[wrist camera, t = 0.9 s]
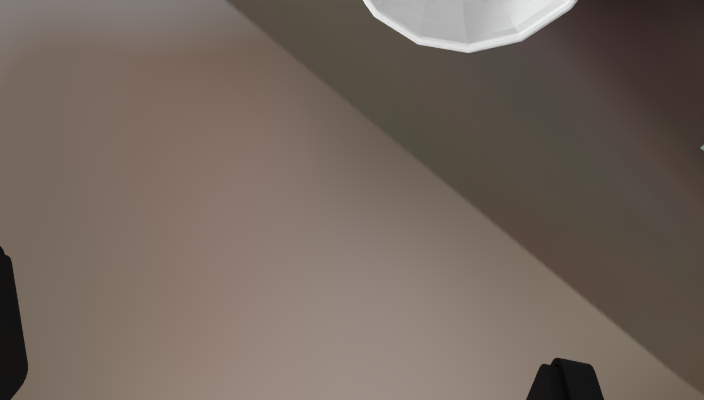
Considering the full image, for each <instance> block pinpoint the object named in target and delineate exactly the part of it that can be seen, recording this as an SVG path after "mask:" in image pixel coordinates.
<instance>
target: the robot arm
mask: <svg viewBox="0 0 704 400" xmlns="http://www.w3.org/2000/svg"><path fill="white" fill-rule="evenodd" d="M27 372H28V362H27V356H26V350H25V343H24V337H23V330H22V324H21V318H20V312H19V305H18V299H17V293H16V286H15V280H14V273H13V267H12V262H11V258H10V257H9V256H7V255H5V254H4V251H3V249H2V248H1V246H0V400H11V398H12V397H13V396H14V395H15V394H16V392H17V391H18V390H19V388H20V387H21V386H22V384H23V383H24V380H25V378H26V375H27ZM526 400H604V398H603V395H602V392H601V389H600V386H599V383H598V380H597V377H596V373H595V371H594V369H593V367H592V366H591V365H590V364H586V363H581V362H576V361H571V360H566V359H561V358H555V359H554V360H553V361H552V363H551V365H547V364H542V365H541V366H540V368H539V370H538V373H537V375H536V377H535V380H534V382H533V384H532V387H531V389H530V392H529V394H528V397H527V399H526Z"/></svg>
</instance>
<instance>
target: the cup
mask: <svg viewBox="0 0 704 400" xmlns="http://www.w3.org/2000/svg"><path fill="white" fill-rule="evenodd" d="M363 1H364V3H365V4H366V6H367V7H368V8H369V10H370V11H371V13H372V14H373V16H374V17H376V18H377V19H379V20H381V21H382V22H384V23H385V24H387V25H388V26H390V27H392V28H393V29H395V30H396V31H398V32H399V33H401V34H403V35H404V36H406V37H407V38H409V39H410V40H412V41H414V42H415V43H417V44H419V45H425V46H431V47H437V48H443V49H449V50H455V51H461V52H467V53H471V52H475V51H480V50H484V49H489V48H493V47H498V46H502V45H507V44H511V43H516V42H520V41H523V40H525V39H526V38H528V37H529V36H531V35H532V34H534V33H535V32H537V31H538V30H540V29H541V28H543V27H544V26H546V25H547V24H549V23H550V22H552V21H554V20H555V19H557V18H558V17H560V16H561V15H563V14H564V13H566V12H567V11H569V10H570V9H571V8H572V7H573V6H574V5H575V3H576V2H577V1H578V0H363Z"/></svg>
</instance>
